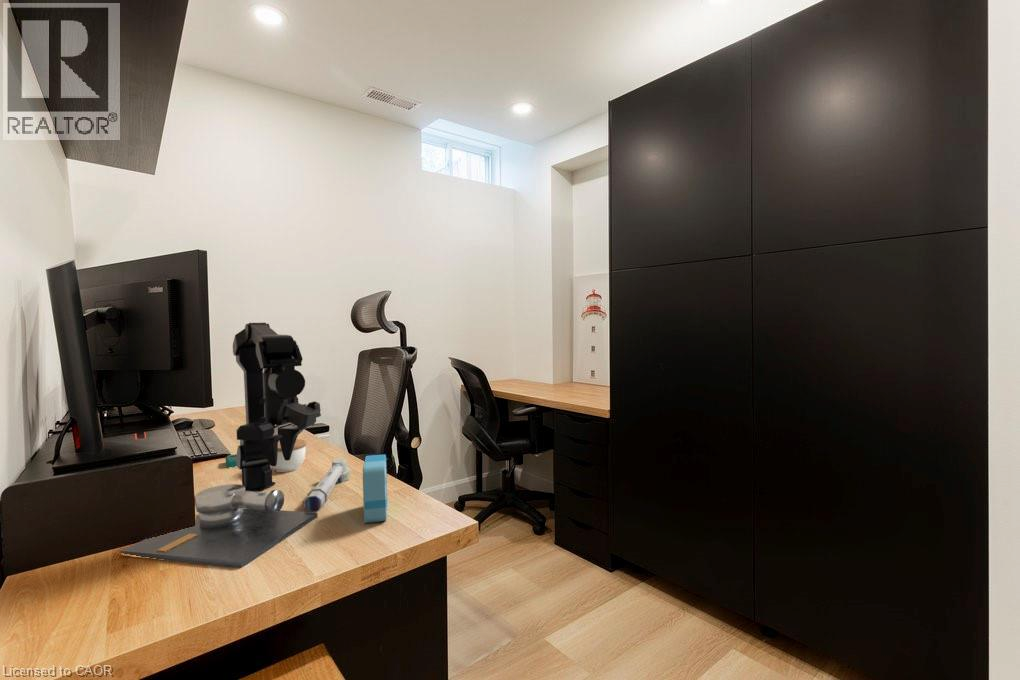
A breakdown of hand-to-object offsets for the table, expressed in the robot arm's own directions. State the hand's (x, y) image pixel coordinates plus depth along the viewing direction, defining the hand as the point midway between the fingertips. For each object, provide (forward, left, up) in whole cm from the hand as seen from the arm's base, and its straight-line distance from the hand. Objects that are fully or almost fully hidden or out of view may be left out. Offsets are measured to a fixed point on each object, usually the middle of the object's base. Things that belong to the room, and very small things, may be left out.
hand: (280, 463), depth 104 cm
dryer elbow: (-5, -6, -8) cm, 12 cm away
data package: (+20, +5, -12) cm, 24 cm away
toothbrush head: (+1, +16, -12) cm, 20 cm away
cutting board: (-5, -10, -12) cm, 16 cm away
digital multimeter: (-40, +38, -13) cm, 57 cm away
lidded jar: (-23, +32, -12) cm, 41 cm away
